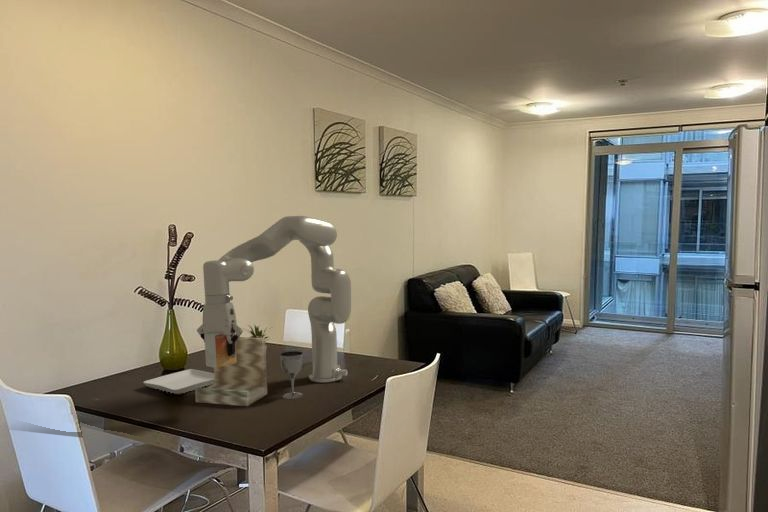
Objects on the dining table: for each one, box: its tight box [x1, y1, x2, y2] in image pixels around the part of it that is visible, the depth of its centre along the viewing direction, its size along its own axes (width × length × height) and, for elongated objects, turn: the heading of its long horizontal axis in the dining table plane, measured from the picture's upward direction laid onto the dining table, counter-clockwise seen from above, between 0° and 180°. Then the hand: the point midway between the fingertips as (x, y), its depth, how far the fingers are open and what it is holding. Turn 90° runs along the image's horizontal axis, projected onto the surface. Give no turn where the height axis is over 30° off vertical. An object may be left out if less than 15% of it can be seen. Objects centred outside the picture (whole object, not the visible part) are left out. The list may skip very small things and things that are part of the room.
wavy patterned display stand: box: [194, 336, 268, 407], centre depth 190 cm, size 20×13×20 cm, turn 73°
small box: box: [204, 331, 237, 369], centre depth 176 cm, size 8×6×10 cm
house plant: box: [241, 324, 273, 353], centre depth 243 cm, size 14×14×16 cm
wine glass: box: [279, 350, 304, 400], centre depth 191 cm, size 8×8×15 cm
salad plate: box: [143, 368, 214, 395], centre depth 207 cm, size 21×21×3 cm
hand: (221, 354), depth 176 cm, fingers closed on small box, 7 cm apart
